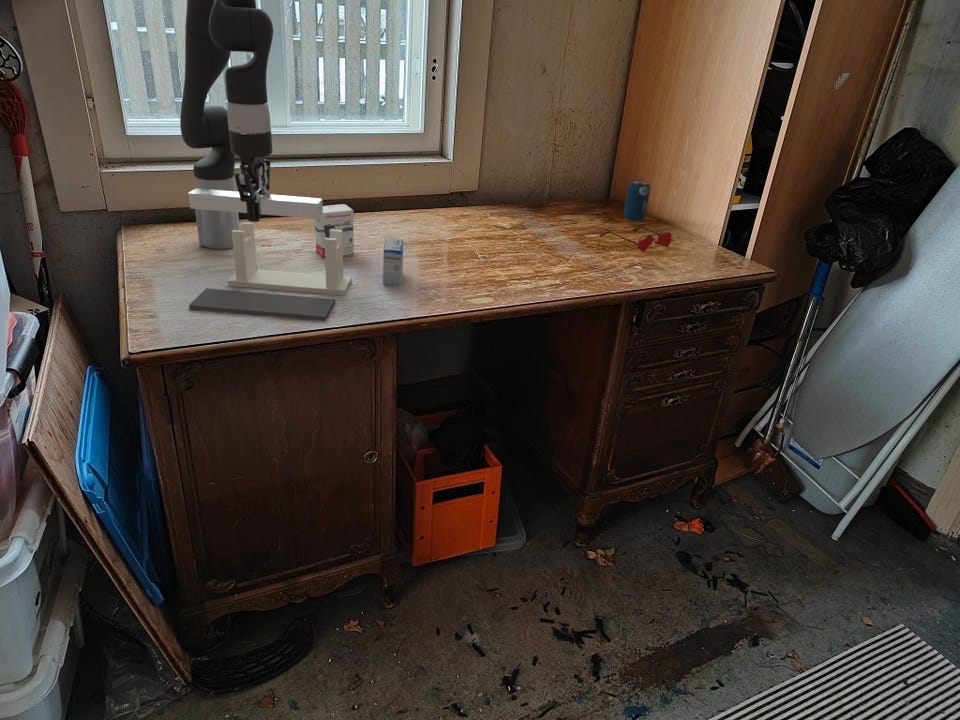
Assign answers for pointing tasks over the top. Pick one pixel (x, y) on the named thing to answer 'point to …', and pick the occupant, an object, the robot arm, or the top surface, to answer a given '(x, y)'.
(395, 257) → the medicine box
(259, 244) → the top surface
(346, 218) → the ink box
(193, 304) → the rubber mat
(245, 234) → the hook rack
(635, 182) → the soda can
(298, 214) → the rail
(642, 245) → the glasses
